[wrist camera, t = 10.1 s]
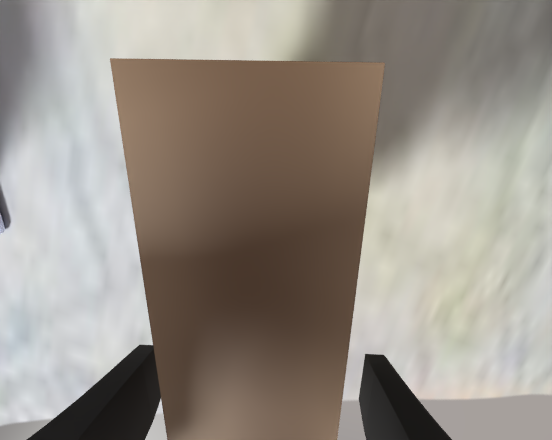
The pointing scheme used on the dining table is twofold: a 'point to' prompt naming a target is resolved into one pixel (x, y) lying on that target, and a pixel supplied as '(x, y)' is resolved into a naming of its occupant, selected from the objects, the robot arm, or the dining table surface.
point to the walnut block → (249, 235)
